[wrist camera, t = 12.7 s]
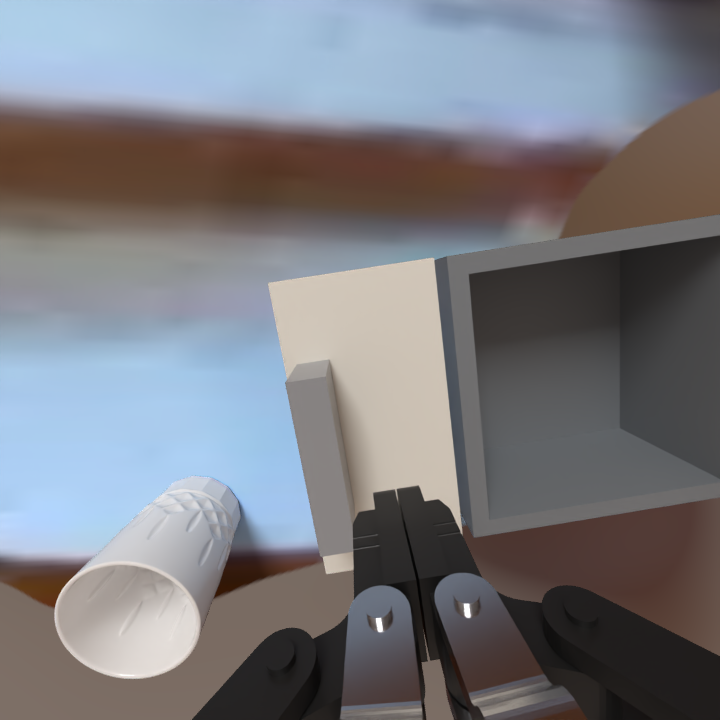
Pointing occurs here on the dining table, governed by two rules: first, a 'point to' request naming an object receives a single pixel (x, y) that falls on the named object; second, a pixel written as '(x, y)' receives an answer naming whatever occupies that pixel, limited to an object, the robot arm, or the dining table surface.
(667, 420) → the box
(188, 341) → the dining table surface
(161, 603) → the white cup
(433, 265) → the panel
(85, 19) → the dining table surface
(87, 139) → the dining table surface
